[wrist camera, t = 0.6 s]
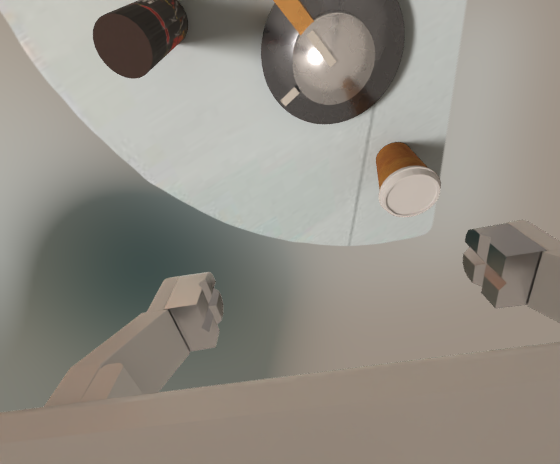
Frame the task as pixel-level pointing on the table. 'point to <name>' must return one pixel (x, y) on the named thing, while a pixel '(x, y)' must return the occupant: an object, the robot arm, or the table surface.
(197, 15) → the table surface
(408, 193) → the disposable coffee cup
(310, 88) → the dial
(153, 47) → the deodorant
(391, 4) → the plate
